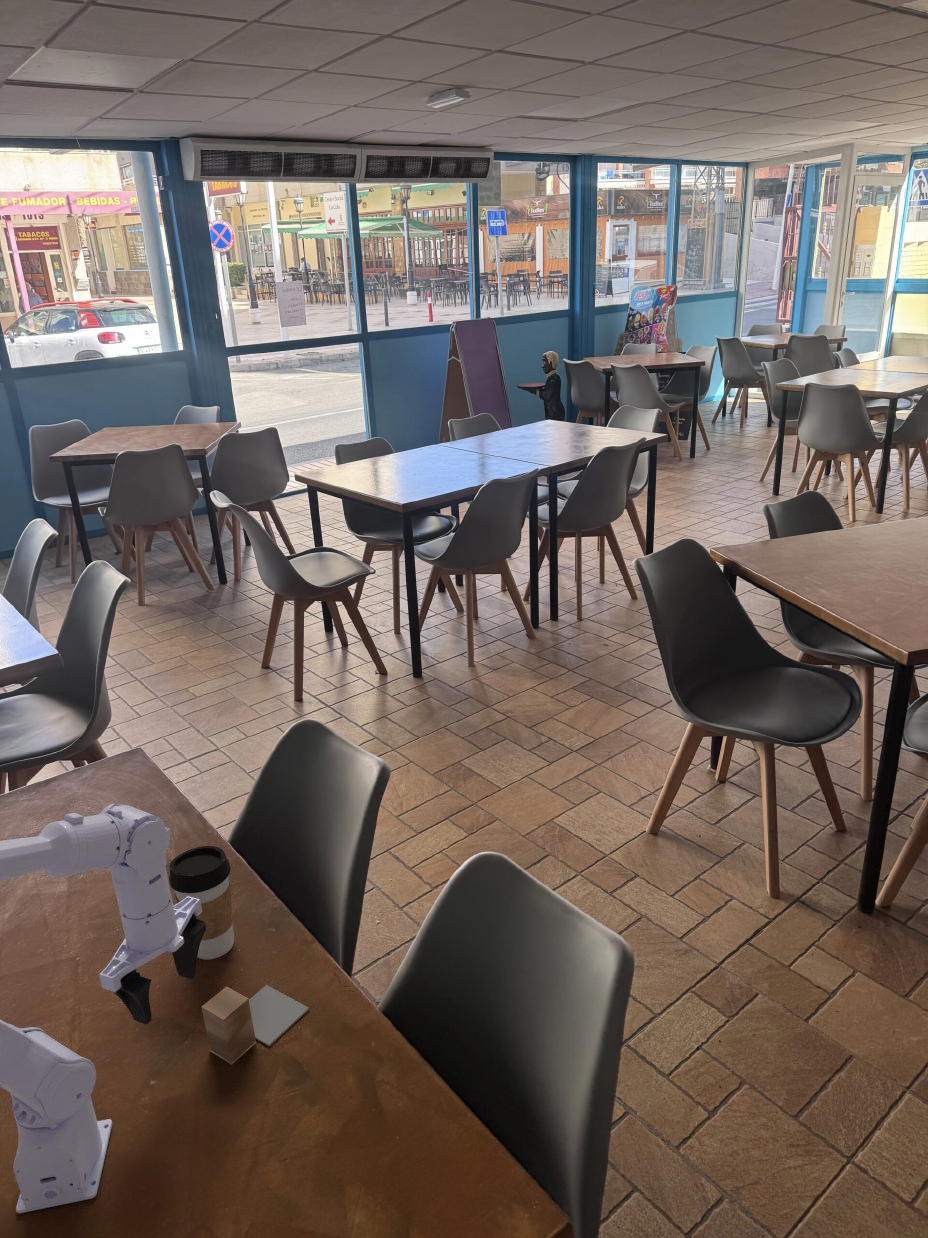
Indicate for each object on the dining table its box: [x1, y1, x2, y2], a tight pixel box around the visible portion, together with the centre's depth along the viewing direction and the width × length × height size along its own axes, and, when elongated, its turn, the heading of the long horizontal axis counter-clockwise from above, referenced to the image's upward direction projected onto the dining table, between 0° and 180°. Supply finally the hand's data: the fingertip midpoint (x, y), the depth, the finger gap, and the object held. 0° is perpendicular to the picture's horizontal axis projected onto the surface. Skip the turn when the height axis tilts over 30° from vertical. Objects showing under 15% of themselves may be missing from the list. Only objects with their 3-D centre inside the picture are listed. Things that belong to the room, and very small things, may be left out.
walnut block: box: [201, 986, 257, 1065], centre depth 109 cm, size 4×4×7 cm
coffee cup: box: [168, 845, 235, 960], centre depth 126 cm, size 8×8×15 cm
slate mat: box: [248, 984, 310, 1048], centre depth 115 cm, size 7×8×1 cm
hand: (165, 997), depth 105 cm, fingers open, 7 cm apart
